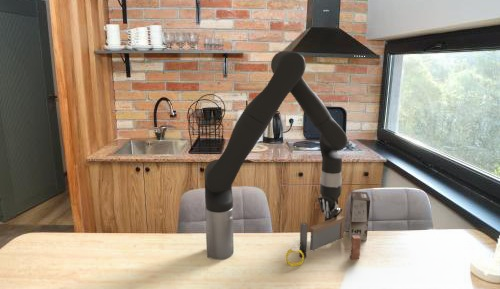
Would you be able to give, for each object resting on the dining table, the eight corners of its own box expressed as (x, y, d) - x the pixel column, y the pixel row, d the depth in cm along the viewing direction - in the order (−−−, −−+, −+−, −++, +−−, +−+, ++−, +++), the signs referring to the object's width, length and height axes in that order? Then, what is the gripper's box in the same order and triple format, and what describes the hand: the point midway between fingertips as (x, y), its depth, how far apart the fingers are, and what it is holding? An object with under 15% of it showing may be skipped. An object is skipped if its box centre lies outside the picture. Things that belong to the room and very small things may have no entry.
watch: (302, 263, 115) (304, 247, 114) (303, 267, 113) (305, 251, 111) (284, 262, 115) (286, 246, 114) (285, 266, 113) (287, 250, 111)
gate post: (300, 258, 118) (301, 225, 115) (298, 254, 120) (299, 222, 117) (306, 257, 118) (308, 225, 115) (305, 254, 120) (306, 222, 117)
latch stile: (352, 259, 117) (353, 238, 115) (350, 256, 119) (351, 235, 117) (359, 259, 117) (361, 238, 115) (357, 256, 119) (358, 235, 117)
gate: (312, 251, 119) (313, 229, 117) (308, 249, 120) (309, 227, 118) (343, 238, 128) (345, 217, 126) (339, 236, 130) (340, 215, 128)
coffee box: (367, 240, 129) (370, 200, 125) (349, 239, 130) (352, 199, 127) (364, 229, 138) (367, 191, 134) (347, 228, 139) (350, 190, 135)
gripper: (312, 178, 131) (310, 219, 135) (332, 190, 119) (329, 235, 123) (329, 175, 133) (326, 216, 137) (350, 187, 121) (347, 231, 126)
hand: (328, 225), depth 130 cm, fingers closed
